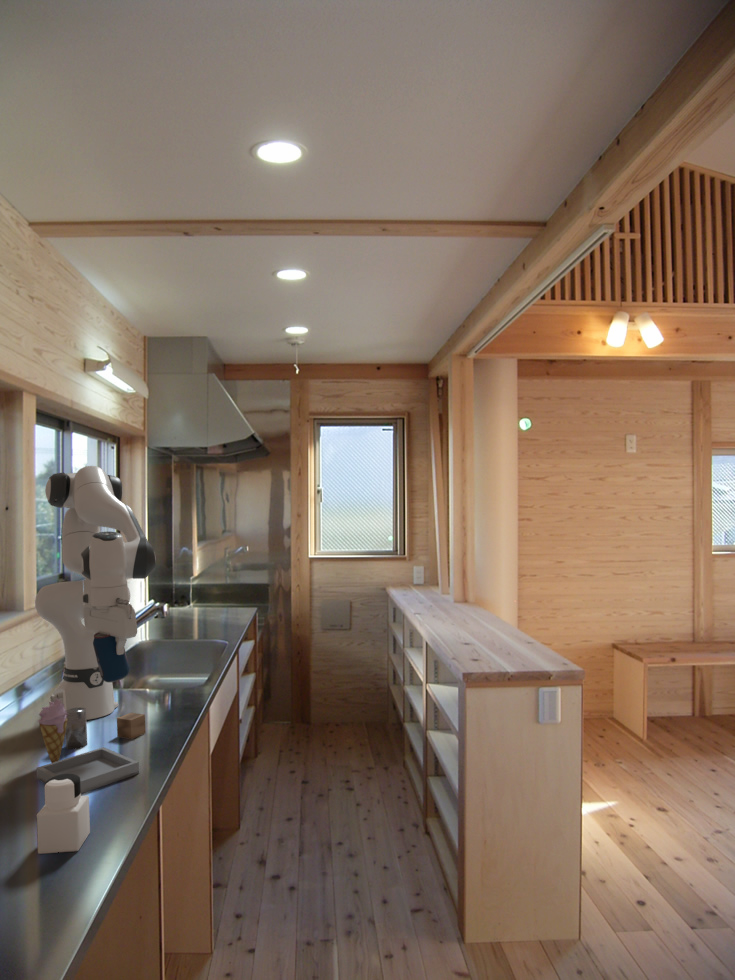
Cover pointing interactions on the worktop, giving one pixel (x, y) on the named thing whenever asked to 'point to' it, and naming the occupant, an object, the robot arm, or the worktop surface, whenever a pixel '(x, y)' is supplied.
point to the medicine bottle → (63, 816)
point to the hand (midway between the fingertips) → (111, 652)
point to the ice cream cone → (53, 728)
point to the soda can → (110, 658)
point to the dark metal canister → (76, 728)
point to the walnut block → (131, 725)
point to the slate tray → (92, 768)
